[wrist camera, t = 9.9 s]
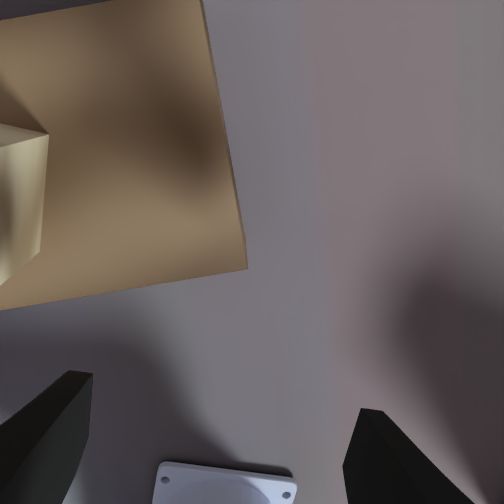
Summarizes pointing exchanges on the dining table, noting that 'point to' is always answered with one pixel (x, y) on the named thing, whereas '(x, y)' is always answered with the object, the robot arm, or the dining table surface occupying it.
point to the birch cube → (21, 196)
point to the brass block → (122, 148)
